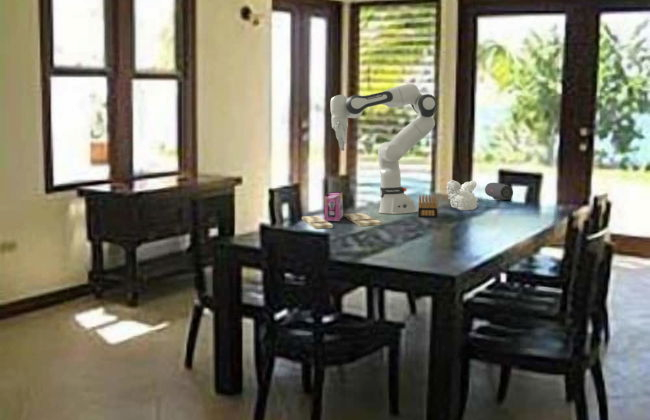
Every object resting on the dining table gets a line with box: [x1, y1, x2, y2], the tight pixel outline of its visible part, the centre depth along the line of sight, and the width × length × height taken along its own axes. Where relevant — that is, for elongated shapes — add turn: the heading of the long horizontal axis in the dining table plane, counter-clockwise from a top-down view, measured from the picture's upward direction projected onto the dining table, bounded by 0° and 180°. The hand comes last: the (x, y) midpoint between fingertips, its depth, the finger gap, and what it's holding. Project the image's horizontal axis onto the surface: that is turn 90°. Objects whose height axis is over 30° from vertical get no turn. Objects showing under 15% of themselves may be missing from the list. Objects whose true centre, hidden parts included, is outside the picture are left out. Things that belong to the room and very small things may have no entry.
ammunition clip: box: [417, 194, 439, 219], centre depth 475 cm, size 11×2×12 cm, turn 67°
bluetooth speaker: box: [484, 182, 514, 201], centre depth 547 cm, size 23×9×10 cm, turn 14°
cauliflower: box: [446, 179, 479, 211], centre depth 508 cm, size 19×20×20 cm
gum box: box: [323, 191, 344, 222], centre depth 481 cm, size 24×8×14 cm, turn 174°
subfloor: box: [301, 212, 383, 230], centre depth 468 cm, size 34×40×2 cm
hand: (341, 149), depth 492 cm, fingers open, 8 cm apart
